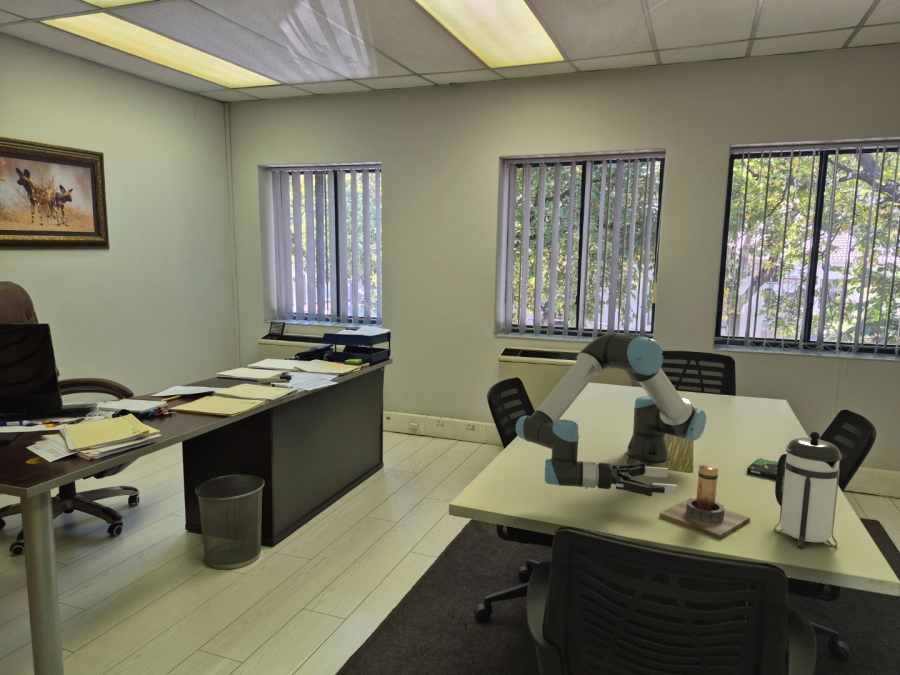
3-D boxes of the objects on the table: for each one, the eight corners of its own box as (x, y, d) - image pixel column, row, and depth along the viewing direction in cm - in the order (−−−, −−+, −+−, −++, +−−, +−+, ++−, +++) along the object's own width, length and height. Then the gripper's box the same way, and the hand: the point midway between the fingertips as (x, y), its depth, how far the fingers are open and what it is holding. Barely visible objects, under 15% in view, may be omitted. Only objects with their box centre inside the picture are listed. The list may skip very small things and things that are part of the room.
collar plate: (690, 501, 187) (691, 488, 186) (749, 521, 173) (750, 507, 173) (659, 516, 176) (660, 503, 175) (720, 539, 162) (721, 524, 161)
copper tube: (700, 509, 178) (704, 464, 177) (717, 515, 174) (721, 468, 173) (691, 513, 175) (695, 467, 173) (708, 519, 171) (712, 472, 169)
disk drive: (778, 482, 206) (788, 471, 217) (779, 475, 206) (789, 463, 217) (746, 475, 213) (757, 464, 224) (746, 467, 212) (757, 457, 224)
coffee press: (842, 537, 164) (854, 431, 160) (830, 558, 153) (843, 444, 149) (772, 518, 176) (782, 418, 172) (757, 536, 164) (766, 429, 160)
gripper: (593, 472, 191) (663, 478, 187) (599, 504, 167) (679, 510, 163) (594, 450, 190) (664, 454, 186) (600, 478, 166) (681, 484, 162)
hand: (672, 481), depth 175 cm, fingers open, 13 cm apart
